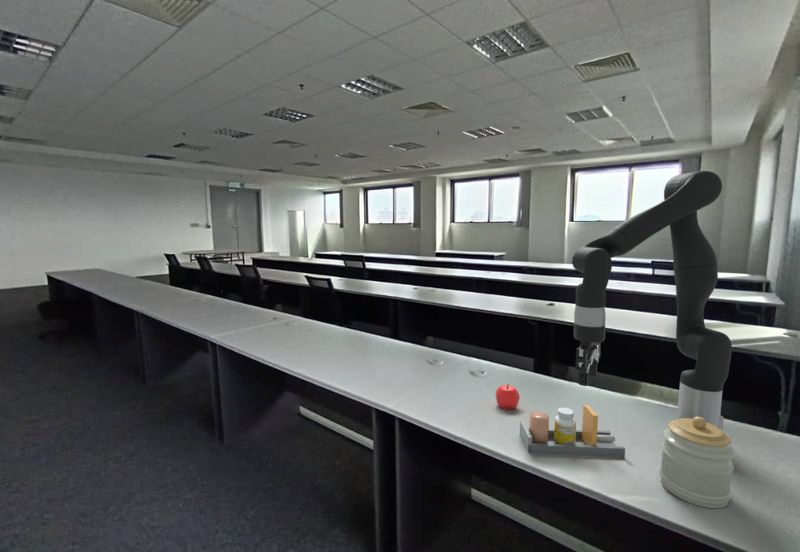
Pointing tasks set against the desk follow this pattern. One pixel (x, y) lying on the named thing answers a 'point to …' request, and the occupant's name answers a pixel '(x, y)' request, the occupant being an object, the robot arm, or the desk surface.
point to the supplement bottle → (565, 427)
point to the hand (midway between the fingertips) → (587, 380)
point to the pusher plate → (592, 428)
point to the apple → (507, 397)
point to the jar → (697, 462)
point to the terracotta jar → (539, 427)
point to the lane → (578, 448)
